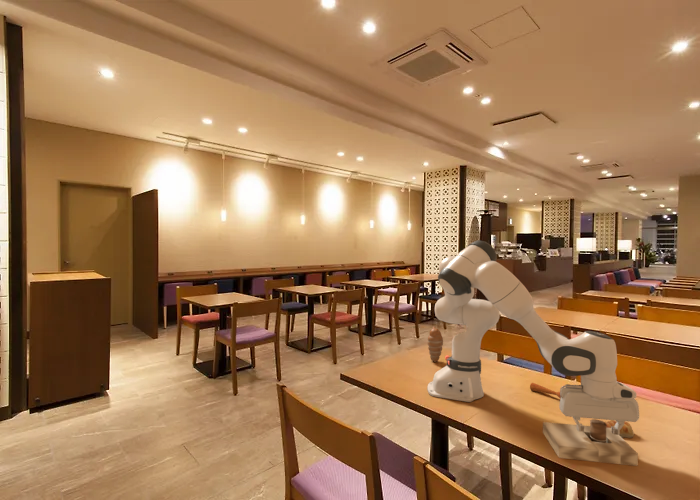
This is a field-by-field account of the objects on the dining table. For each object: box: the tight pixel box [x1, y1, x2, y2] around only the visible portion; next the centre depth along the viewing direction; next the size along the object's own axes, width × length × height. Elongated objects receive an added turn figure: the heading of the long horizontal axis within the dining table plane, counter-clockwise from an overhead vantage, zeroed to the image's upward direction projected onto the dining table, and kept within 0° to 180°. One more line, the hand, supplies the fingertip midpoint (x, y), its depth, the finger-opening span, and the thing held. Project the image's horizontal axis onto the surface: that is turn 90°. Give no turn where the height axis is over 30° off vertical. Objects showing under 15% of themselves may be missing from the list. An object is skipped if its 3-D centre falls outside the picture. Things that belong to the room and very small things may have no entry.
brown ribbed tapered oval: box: [427, 326, 444, 363], centre depth 188 cm, size 9×8×18 cm
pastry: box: [604, 420, 635, 439], centre depth 118 cm, size 9×7×4 cm
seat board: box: [542, 421, 639, 467], centre depth 109 cm, size 20×14×4 cm
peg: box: [589, 418, 607, 443], centre depth 108 cm, size 4×4×8 cm
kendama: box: [529, 382, 561, 399], centre depth 143 cm, size 6×6×20 cm
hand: (597, 432), depth 108 cm, fingers open, 8 cm apart
